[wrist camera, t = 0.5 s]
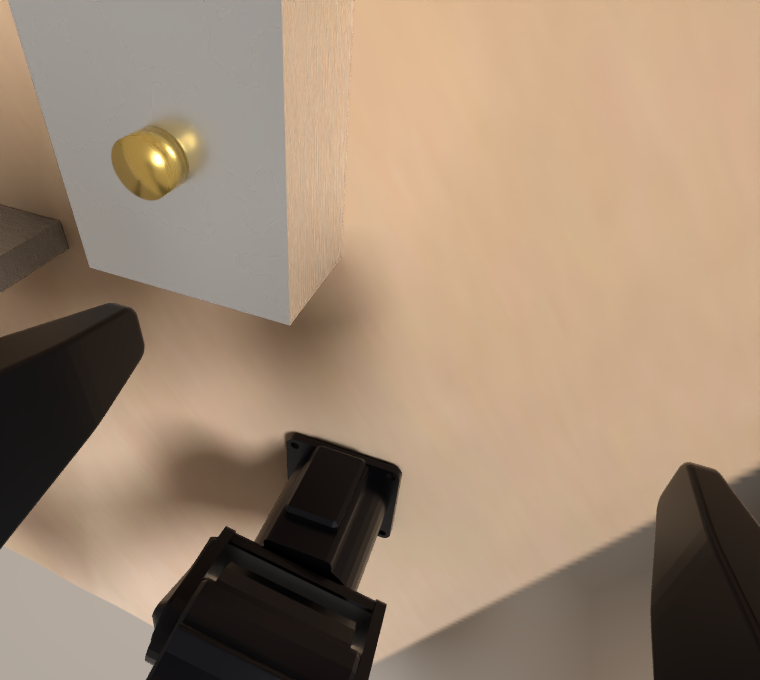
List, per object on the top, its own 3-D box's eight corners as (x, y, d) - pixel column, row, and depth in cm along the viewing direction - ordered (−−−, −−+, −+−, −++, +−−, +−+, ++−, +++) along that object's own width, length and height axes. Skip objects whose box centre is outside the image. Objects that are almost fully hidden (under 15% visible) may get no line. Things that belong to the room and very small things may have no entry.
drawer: (343, 254, 22) (276, 343, 18) (157, 205, 24) (52, 276, 19) (359, -45, 16) (259, -21, 11) (101, -84, 17) (-75, -75, 13)
